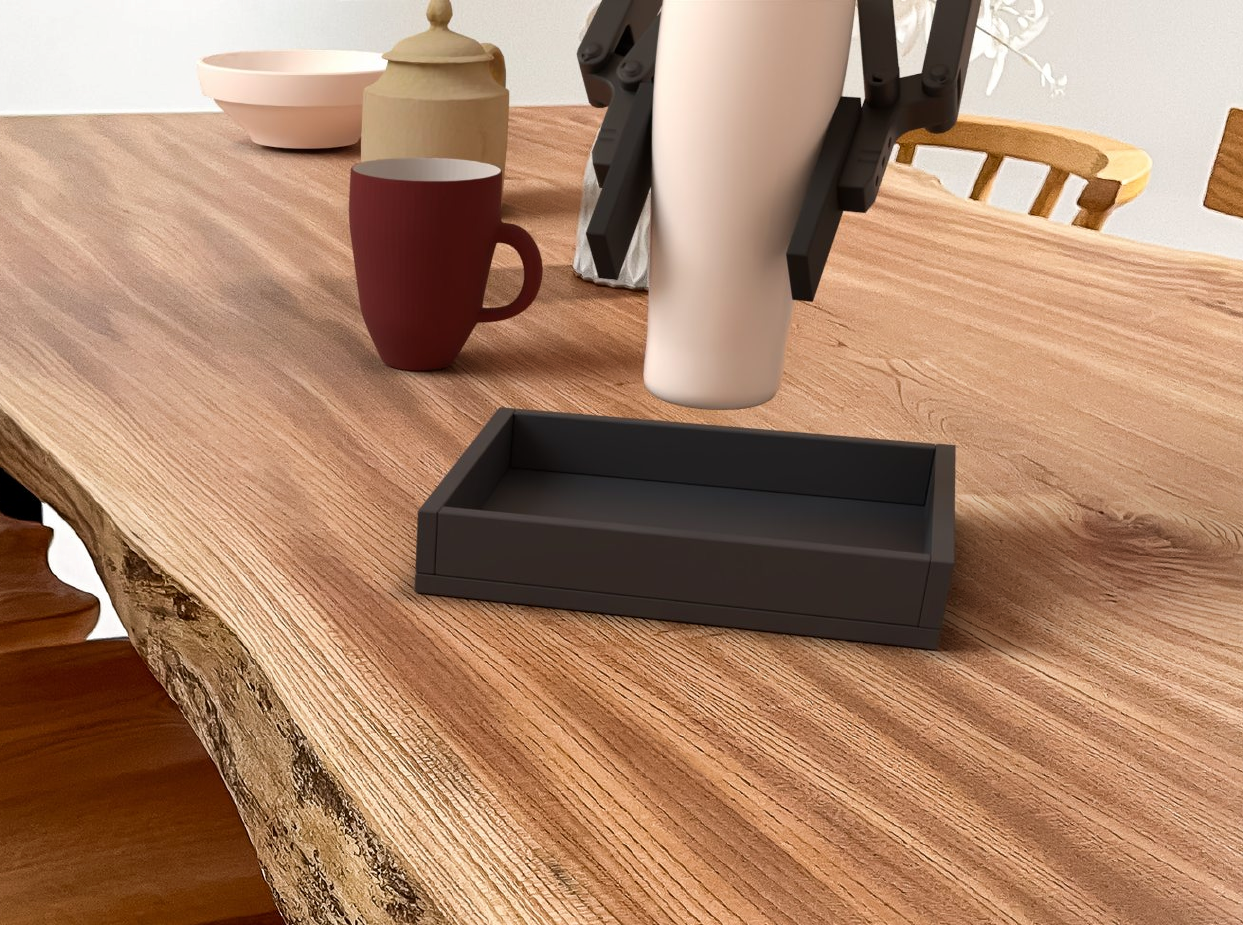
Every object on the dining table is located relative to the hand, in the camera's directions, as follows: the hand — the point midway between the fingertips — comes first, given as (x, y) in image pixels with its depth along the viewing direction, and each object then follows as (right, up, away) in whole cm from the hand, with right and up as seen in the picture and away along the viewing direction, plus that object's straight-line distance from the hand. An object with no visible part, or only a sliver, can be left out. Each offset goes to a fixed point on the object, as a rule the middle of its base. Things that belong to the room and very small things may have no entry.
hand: (698, 266), depth 69 cm
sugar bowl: (-3, +34, +79) cm, 86 cm away
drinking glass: (+2, -3, +6) cm, 7 cm away
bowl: (-13, +50, +105) cm, 117 cm away
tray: (+2, -9, +9) cm, 12 cm away
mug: (-6, +8, +36) cm, 37 cm away
